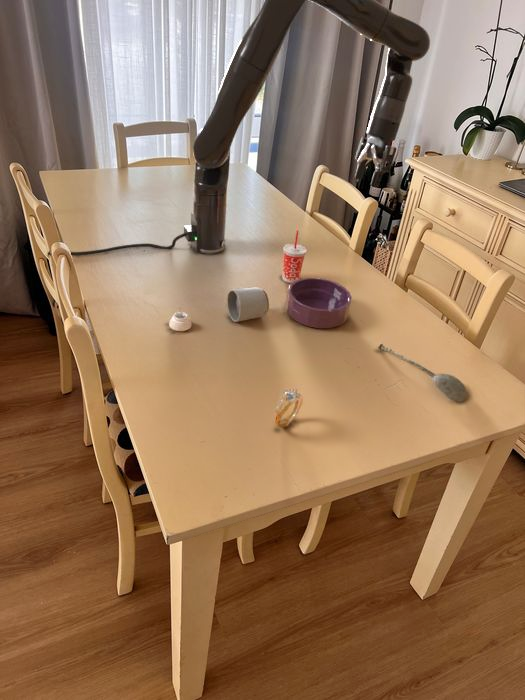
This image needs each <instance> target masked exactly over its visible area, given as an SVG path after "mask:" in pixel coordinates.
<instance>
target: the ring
mask: <svg viewBox="0 0 525 700" xmlns="http://www.w3.org/2000/svg"><path fill="white" fill-rule="evenodd" d="M298 391H299V390H298V389H297V388H296V389H294V388H293V389H289V390H288V389H286V390H284V391H283V392H282V393H281V396H280V398H279V401H278V403H277V404H276V405H277V406H276V408H275V411H274V414H273V423H274V425H276V427H278V428H280V429H281V428H282V429H283V428H285V427H288V426H289V425H290V423H291V422H293V420H294V419H296V417H297V415H298V414H299V412H300V411H301V408H302V405H303V400H304V399H303V398H304V397H303V395H302V394H301V393H298ZM284 402H288V403H287V404H286V405H285V406H284V407H283V404H284ZM293 404H294V407H293V410H292V412H291V414H290V415H289V416H288V417H287V418H284V419H283V420H282V418H283V416H284V415H285V414H286V412H287V411H288V409H289V408H290V407H291V406H292V405H293ZM282 407H283V408H282ZM281 420H282V421H281Z"/></svg>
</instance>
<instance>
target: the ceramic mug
mask: <svg viewBox="0 0 525 700" xmlns="http://www.w3.org/2000/svg"><path fill="white" fill-rule="evenodd" d="M226 307H227V311H228V314H229V317H230V318H231V320H232V322H236V323H238V322H242V321H248V320H254V319H259V318H262V317H265V316H266V315H267V313H269V308H270V300H269V296H268V293H267V292H266V290H265V289H263V288H262V287H243V288H233V289H230V290H229V291H228V293H227V297H226Z"/></svg>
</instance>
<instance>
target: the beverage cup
mask: <svg viewBox="0 0 525 700" xmlns="http://www.w3.org/2000/svg"><path fill="white" fill-rule="evenodd" d="M298 236H299V230H296V233H295V241H294V243H286V244H285V245H284V246H283V247H282V248H283V250H282V251H283V261H282V263H283V264H282V278H281V279H282V280H283V281H284V282H285V283H290V284H292V283H293V282H294V281H297V280H299V279H301V273H302V268H303V264H304V259H305V256H306V254H307V248H306V247H305V246H303V245H301V244H298Z"/></svg>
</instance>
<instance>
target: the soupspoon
mask: <svg viewBox="0 0 525 700" xmlns="http://www.w3.org/2000/svg"><path fill="white" fill-rule="evenodd" d="M377 350H378V351H384V352H388V353H389V354H392V355H394V356H396V357H398V358H400V359H401V360H403V361H405V362H407V363H408V364H410V365H412V366H414V367H416V368H418V369H419V370H421V371H422V372H424V373H426V374H427V375H429V376H430V377H432V381H433V383H434V385H435V386H436V387H437V389H439V390H440V391H441V392H442V393H443V394H444V395H445V396H446V397H447V398H449V399H450V400H452V401H455V402H458V403H461V402H462V403H463V402H465V401H466V400H467V398H468V390H467V388H466V386H465V385H464V383H463V382H462V381H461V380H460V379H458V377H456V376H454V375H451V374H449V373H437V374H436V373H434V372H432V371H431V370H430V369H427V368H426V367H425V366H423V365H420V364H419V363H417V362H416V361H413V360H411V359H409V358H407V357H405V356H404V355H401V354H399V353H398V352H395V351H394V350H392V349H391V348H388V347H387V346H385V345H384V344H383V343H379V345H377Z"/></svg>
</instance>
